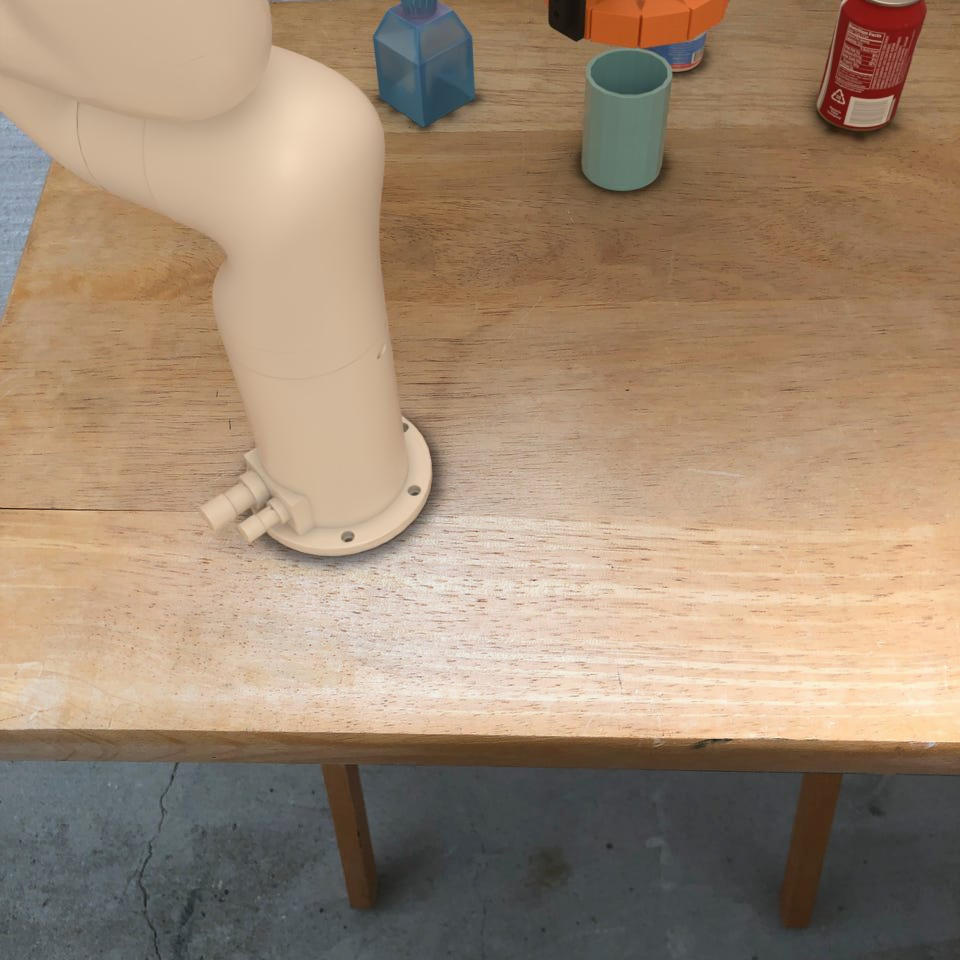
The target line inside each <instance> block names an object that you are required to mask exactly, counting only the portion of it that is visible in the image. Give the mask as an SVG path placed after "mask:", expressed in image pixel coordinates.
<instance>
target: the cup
mask: <svg viewBox="0 0 960 960" xmlns="http://www.w3.org/2000/svg"><path fill="white" fill-rule="evenodd" d="M584 81H585V82H584V97H583V98H584V100H583V121H582V141H581V143H582V144H581V161H580V163H581V171H582V173H583V175H584V176H585V178H586V179H587V180H589V181H590V182H591V183H592V184H594V185H596V186H597V187H600V188H601V189H605V190H610V191H615V192H616V191H618V192H628V191H635V190H639V189H642V188H644V187H647V186H648V185H650V184H652V183H654V182H655V180H657V178H658V177H659V175H660V173H661V170H662V167H663V159H664V151H665V145H666V144H665V143H666V134H667V128H668V127H667V126H668V119H669V111H670V102H671V93H672V85H673V72H672V67H671V66H670V65H669V63H668V62H667V61H666V59H665V58H663V57H661V56H660V55H658V54H656V53H654V52H652V51H648V50H646V49H645V48H640V47H637V49H635V48H629V47H617V48H613V49H612V48H611V49H606V50H604V51H602V52H600V53H598V54H597V55H595V56H593V57H592V58H591V59H590V61H589V62H588V63H587V65H586V67H585V79H584Z"/></svg>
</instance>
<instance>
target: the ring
mask: <svg viewBox="0 0 960 960" xmlns="http://www.w3.org/2000/svg"><path fill="white" fill-rule="evenodd" d="M544 2H545V5H546V7H547V8H548V4H549V0H544ZM729 3H730V0H586V9H585V30H584V38H583V39H584V40H586V41H589V40H590V43H598V44H604V45H609V46H615V47H616V46H617V47H621V48H635V49H637V48H640V49H646V48H648V47H655V46H661V45H668V44H674V43H681V42H686V39H687V40H691V39H693V38H694V37H696V36H698V35H700V34H701V33H703V32H705V31H706V30H707V31H708V30H710V29H711V28H713V27H715V26H716V25H718V24H720V23H721V22H722V20H723V19H724V17H725V14H726V11H727V9H728V6H729Z"/></svg>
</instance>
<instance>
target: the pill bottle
mask: <svg viewBox="0 0 960 960" xmlns="http://www.w3.org/2000/svg"><path fill="white" fill-rule="evenodd" d="M707 32H708V30H706V31H705V32H703V33H701V34H700V35H698V36H696V37H694V38H693V39H691V40H687V39H686V42H681V43H674V44H668V45H661V46H655V47H648V48H645V50H648V51H652V52H654V53H656V54H658V55H660V56H661V57H663V58H665V59H666V61H667V62H668V63H669V65H670V66H671V67H672V73H674V72H675V73H678V72H685V71H689V70H692V69H694V68H695V67H697V66H698V65H699V64H700V62H701V61H702V59H703V56H704V52H705V45H706V39H707V38H706V37H707Z"/></svg>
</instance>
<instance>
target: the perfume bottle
mask: <svg viewBox="0 0 960 960" xmlns="http://www.w3.org/2000/svg"><path fill="white" fill-rule="evenodd" d="M372 43H373V51H374V60H375V68H376V77H377V85H378V92H379V93H378V94H379V99H380V100H381V101H383V102H385V103H386V104H387V105H389V106H391V107H392V108H393V109H395V110H397V111H398V112H400V113H401V114H403V115H404V116H405V117H407V118H408V119H410V120H412V121H413V122H414V123H415V124H418V125H419V126H420V127H422V128H426V127H427V126H429V125H432V124H433V123H435V122H436V121H437V120H440V119H442V118H443V117H445V116H447V115H449V114H450V113H453V112H454V111H456V110H457V109H459V108H462V106H464V105H466V104H468V103H470V102H471V101H473V100H476V91H475V90H476V88H475V67H474V66H475V65H474V64H475V63H474V44H473V35H472V34H471V32H470V30H468V28H467V27H466V25H465V24H464V23H463V21H462V20H461V18H460V17H459V16H458V15H457V13H456V11H455V10H454V8H451V7H449V6H448V5H446V4H444V3H443V2H441V1H439V0H399V3H397V4H396V5H394V6H392V7H390V8H388V9H387V10H386V11H385V13H384V15H383V17H382V19H381V20H380V22H379V24H378V26H377V28H376V29H375V31H374V33H373V35H372Z"/></svg>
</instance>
